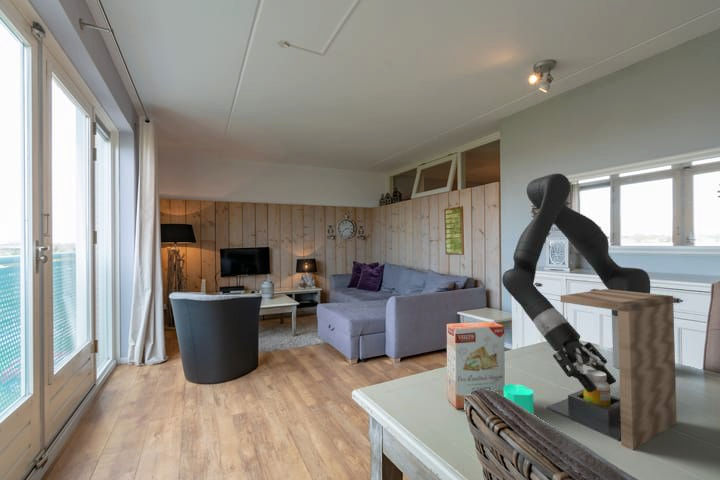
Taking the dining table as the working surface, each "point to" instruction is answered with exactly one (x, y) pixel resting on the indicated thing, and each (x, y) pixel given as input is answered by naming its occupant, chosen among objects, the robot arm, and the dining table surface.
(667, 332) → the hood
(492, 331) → the cracker box
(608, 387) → the supplement bottle
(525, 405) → the candle
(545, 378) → the dining table surface
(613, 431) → the socket
